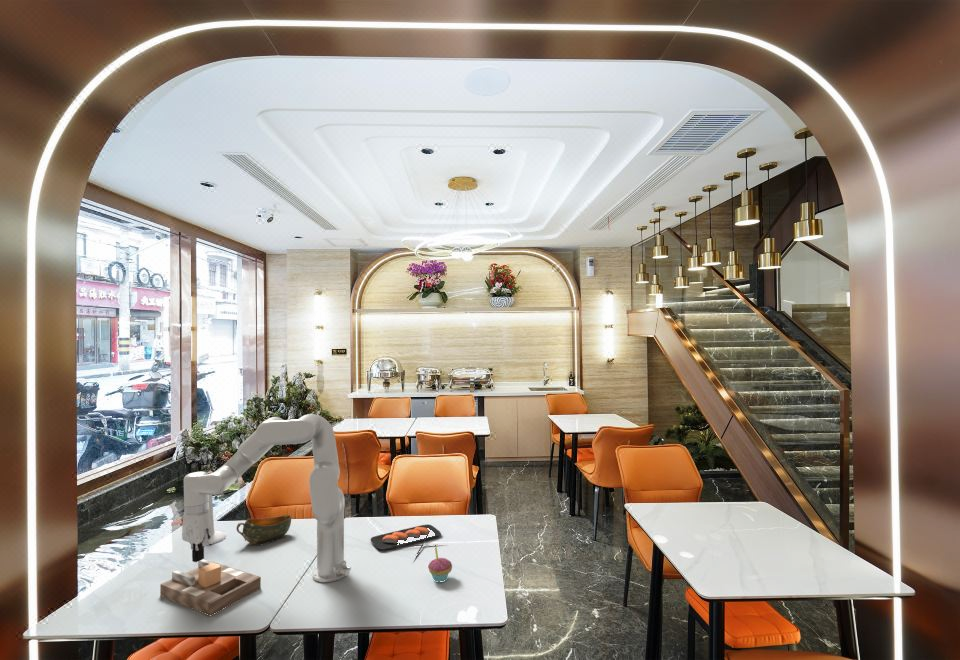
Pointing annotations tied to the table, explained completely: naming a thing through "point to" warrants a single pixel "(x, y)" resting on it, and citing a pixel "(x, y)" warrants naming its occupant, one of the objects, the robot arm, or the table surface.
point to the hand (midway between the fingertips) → (198, 560)
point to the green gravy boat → (265, 529)
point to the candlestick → (215, 535)
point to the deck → (209, 588)
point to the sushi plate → (403, 537)
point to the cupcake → (439, 568)
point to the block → (209, 575)
